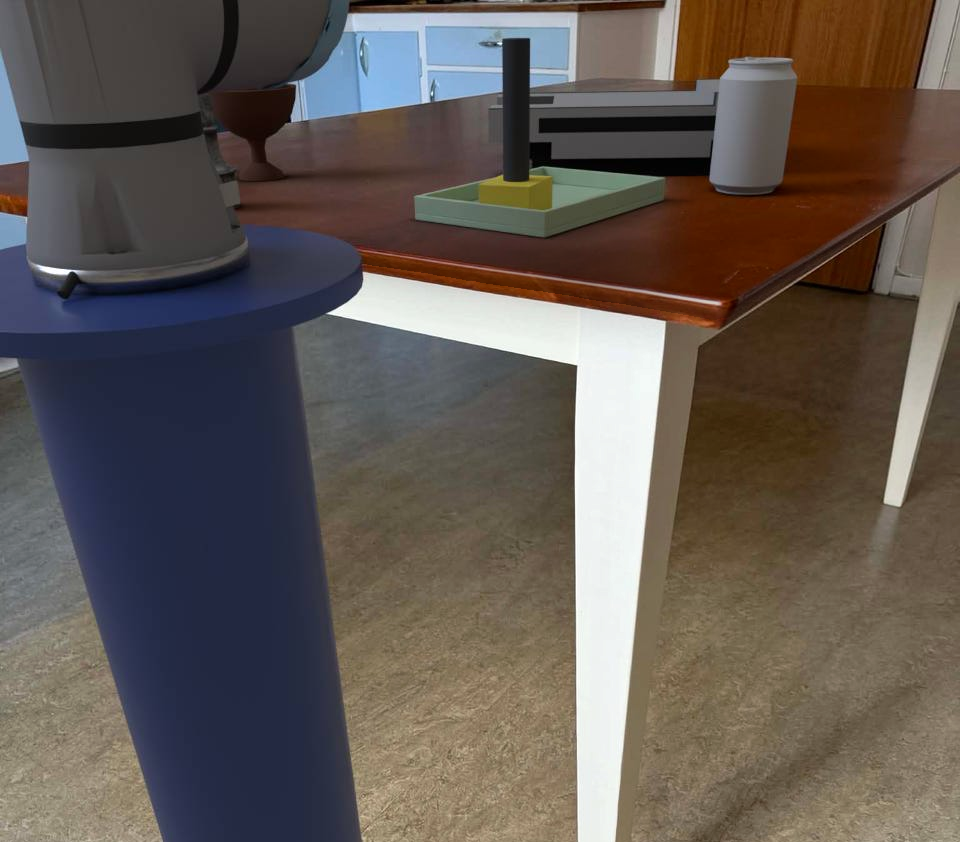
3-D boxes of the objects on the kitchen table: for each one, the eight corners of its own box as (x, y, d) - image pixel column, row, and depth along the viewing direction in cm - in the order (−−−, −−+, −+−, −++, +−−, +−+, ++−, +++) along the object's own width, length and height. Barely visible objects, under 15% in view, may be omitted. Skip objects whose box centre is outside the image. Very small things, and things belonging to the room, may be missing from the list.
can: (752, 199, 96) (770, 60, 89) (693, 190, 100) (706, 58, 93) (795, 189, 99) (815, 56, 93) (736, 181, 104) (752, 54, 97)
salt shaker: (237, 212, 96) (216, 75, 89) (179, 214, 96) (154, 76, 89) (246, 201, 101) (227, 71, 94) (191, 203, 100) (167, 72, 94)
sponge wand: (529, 222, 85) (530, 39, 77) (479, 219, 87) (475, 40, 79) (552, 210, 90) (555, 36, 82) (503, 207, 91) (502, 37, 83)
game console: (500, 152, 127) (499, 82, 122) (741, 150, 125) (749, 77, 120) (489, 177, 110) (488, 97, 105) (768, 175, 107) (779, 92, 103)
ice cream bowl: (290, 185, 109) (271, 31, 100) (200, 184, 111) (174, 33, 102) (319, 170, 118) (304, 27, 109) (235, 170, 119) (214, 29, 111)
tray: (544, 237, 83) (544, 212, 81) (415, 219, 91) (413, 196, 89) (663, 200, 96) (665, 177, 95) (542, 187, 104) (542, 166, 103)
